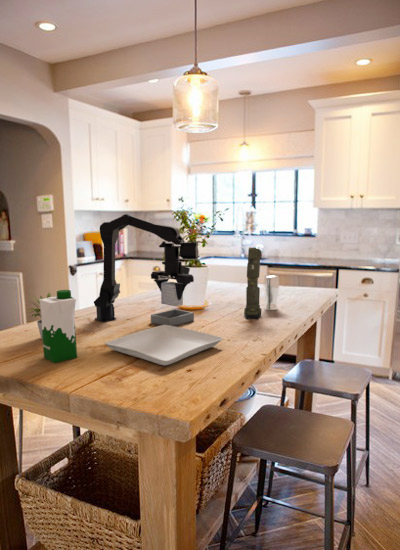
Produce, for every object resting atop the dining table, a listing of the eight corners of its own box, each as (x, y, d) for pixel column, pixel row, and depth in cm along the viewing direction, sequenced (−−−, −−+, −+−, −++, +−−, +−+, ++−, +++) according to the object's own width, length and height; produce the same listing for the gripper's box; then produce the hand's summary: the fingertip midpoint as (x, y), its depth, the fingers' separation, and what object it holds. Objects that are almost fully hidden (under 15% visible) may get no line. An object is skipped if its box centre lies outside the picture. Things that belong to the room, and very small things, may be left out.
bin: (169, 328, 153) (169, 319, 153) (150, 323, 160) (150, 314, 160) (193, 321, 163) (193, 312, 163) (175, 316, 170) (175, 308, 170)
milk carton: (81, 357, 121) (78, 291, 119) (52, 365, 115) (48, 296, 112) (67, 350, 128) (64, 288, 125) (39, 357, 121) (35, 292, 118)
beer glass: (278, 307, 188) (278, 275, 185) (279, 310, 181) (280, 277, 179) (262, 307, 188) (263, 275, 186) (263, 310, 181) (264, 277, 179)
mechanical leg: (260, 319, 162) (262, 245, 164) (242, 318, 163) (244, 245, 166) (261, 319, 175) (263, 250, 178) (245, 318, 177) (247, 250, 179)
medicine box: (183, 305, 160) (183, 283, 159) (175, 306, 157) (175, 284, 155) (168, 302, 165) (168, 281, 164) (160, 304, 161) (160, 282, 160)
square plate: (164, 333, 148) (164, 323, 147) (225, 348, 130) (225, 336, 130) (103, 352, 127) (103, 340, 126) (166, 373, 110) (166, 359, 109)
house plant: (26, 333, 147) (23, 289, 144) (66, 329, 151) (64, 286, 149) (24, 345, 133) (21, 296, 131) (68, 340, 138) (66, 293, 136)
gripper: (203, 259, 158) (203, 298, 160) (169, 256, 170) (170, 292, 172) (183, 261, 150) (183, 302, 152) (149, 258, 162) (150, 296, 164)
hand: (171, 298), depth 160 cm, fingers closed on medicine box, 8 cm apart
